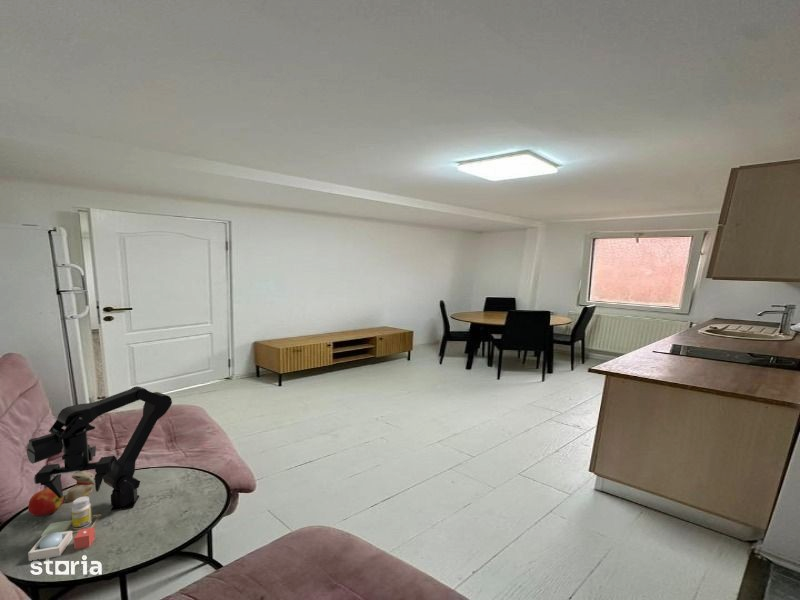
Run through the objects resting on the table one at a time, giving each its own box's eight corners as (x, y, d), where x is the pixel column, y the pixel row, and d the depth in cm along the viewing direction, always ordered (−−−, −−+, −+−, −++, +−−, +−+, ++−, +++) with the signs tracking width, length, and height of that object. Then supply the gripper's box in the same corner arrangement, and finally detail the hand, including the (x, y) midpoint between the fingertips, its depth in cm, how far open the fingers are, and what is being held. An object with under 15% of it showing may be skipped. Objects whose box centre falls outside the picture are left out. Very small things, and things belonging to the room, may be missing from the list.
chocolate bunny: (93, 496, 131) (92, 469, 130) (63, 503, 127) (62, 476, 126) (95, 488, 136) (94, 462, 135) (66, 494, 132) (65, 468, 130)
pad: (72, 520, 119) (72, 520, 119) (63, 533, 114) (63, 532, 114) (51, 523, 118) (51, 523, 118) (40, 536, 112) (40, 535, 112)
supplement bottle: (80, 519, 120) (78, 495, 119) (95, 519, 120) (94, 495, 120) (68, 530, 115) (67, 505, 114) (84, 529, 116) (83, 504, 115)
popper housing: (72, 538, 112) (72, 530, 112) (59, 555, 106) (59, 547, 105) (43, 542, 110) (43, 535, 110) (28, 561, 103) (28, 553, 103)
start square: (101, 515, 122) (101, 514, 122) (90, 530, 116) (90, 529, 116) (74, 519, 120) (74, 518, 120) (62, 534, 113) (62, 533, 113)
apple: (49, 521, 118) (47, 498, 118) (21, 522, 118) (19, 498, 117) (69, 505, 126) (68, 483, 125) (43, 505, 126) (41, 483, 125)
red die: (95, 538, 113) (94, 526, 112) (89, 546, 109) (88, 535, 109) (80, 540, 111) (80, 529, 111) (74, 549, 108) (73, 537, 108)
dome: (66, 540, 111) (65, 530, 110) (57, 552, 106) (56, 542, 106) (46, 543, 109) (45, 534, 109) (36, 555, 105) (35, 546, 104)
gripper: (120, 430, 125) (123, 473, 127) (49, 439, 118) (54, 485, 120) (109, 447, 115) (112, 493, 117) (30, 458, 108) (36, 507, 110)
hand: (79, 494), depth 116 cm, fingers open, 9 cm apart
